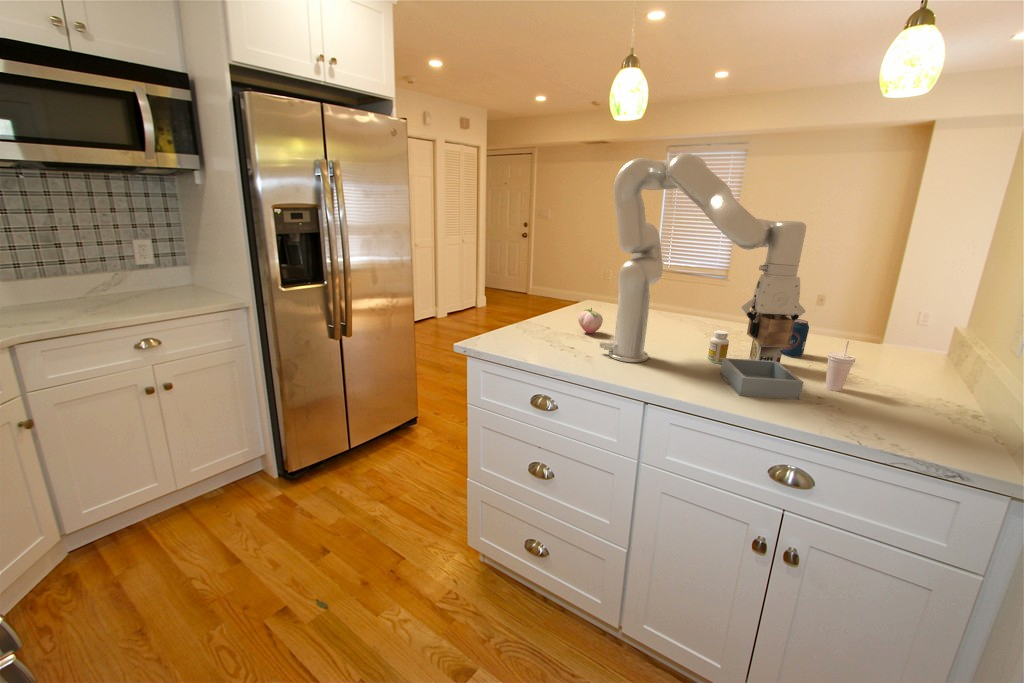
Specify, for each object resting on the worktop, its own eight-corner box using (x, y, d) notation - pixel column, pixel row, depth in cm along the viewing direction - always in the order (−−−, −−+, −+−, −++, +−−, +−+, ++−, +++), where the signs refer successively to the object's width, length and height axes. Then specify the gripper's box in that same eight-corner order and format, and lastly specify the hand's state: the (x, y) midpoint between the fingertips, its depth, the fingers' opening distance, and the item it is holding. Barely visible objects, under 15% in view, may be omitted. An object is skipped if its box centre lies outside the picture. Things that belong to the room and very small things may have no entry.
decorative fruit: (606, 335, 172) (609, 309, 169) (589, 337, 168) (591, 311, 165) (590, 329, 180) (592, 304, 177) (573, 331, 176) (575, 306, 173)
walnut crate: (762, 345, 119) (767, 319, 117) (746, 334, 129) (751, 309, 127) (789, 347, 118) (794, 320, 116) (770, 335, 128) (775, 311, 126)
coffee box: (779, 371, 140) (790, 319, 135) (756, 369, 141) (766, 318, 136) (769, 361, 148) (779, 312, 144) (748, 359, 150) (757, 311, 145)
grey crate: (739, 395, 121) (742, 377, 119) (720, 373, 136) (722, 357, 134) (799, 399, 119) (803, 381, 118) (773, 377, 134) (776, 361, 133)
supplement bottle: (725, 360, 148) (730, 331, 146) (725, 365, 144) (730, 335, 141) (707, 357, 151) (712, 328, 148) (706, 362, 146) (711, 332, 143)
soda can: (775, 353, 156) (782, 319, 153) (784, 350, 160) (791, 317, 157) (797, 359, 151) (805, 324, 148) (805, 355, 155) (813, 321, 152)
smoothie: (848, 395, 123) (861, 345, 119) (819, 389, 126) (831, 341, 122) (846, 387, 128) (859, 339, 124) (819, 382, 132) (830, 335, 128)
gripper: (751, 271, 115) (739, 339, 121) (824, 274, 114) (808, 343, 119) (740, 267, 123) (729, 331, 128) (808, 269, 121) (794, 335, 126)
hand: (767, 336), depth 123 cm, fingers closed on walnut crate, 6 cm apart
